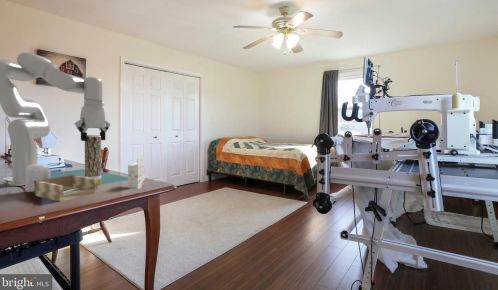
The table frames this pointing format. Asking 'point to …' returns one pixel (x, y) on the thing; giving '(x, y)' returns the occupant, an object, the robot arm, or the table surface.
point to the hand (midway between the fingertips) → (93, 140)
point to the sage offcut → (71, 190)
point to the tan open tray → (65, 187)
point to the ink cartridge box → (136, 174)
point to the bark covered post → (93, 157)
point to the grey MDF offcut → (75, 191)
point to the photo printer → (35, 175)
